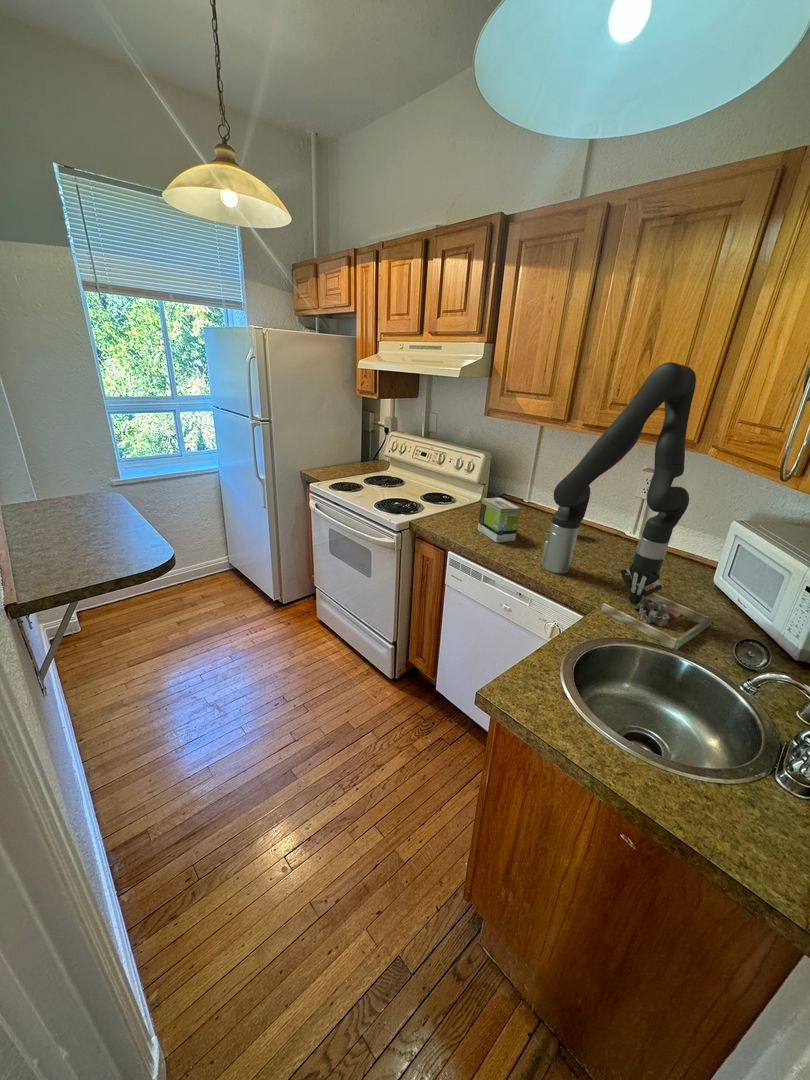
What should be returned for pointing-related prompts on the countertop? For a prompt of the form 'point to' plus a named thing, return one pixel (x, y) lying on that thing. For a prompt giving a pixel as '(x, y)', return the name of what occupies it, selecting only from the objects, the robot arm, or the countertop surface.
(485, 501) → the tea box
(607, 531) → the countertop surface
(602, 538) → the countertop surface
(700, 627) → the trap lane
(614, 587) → the countertop surface
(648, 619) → the egg carton
